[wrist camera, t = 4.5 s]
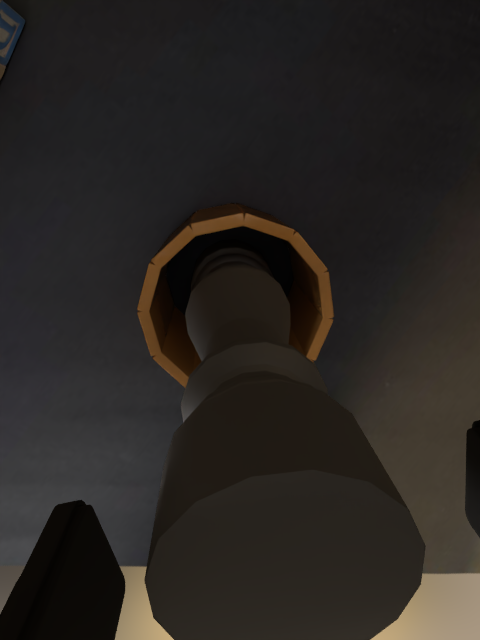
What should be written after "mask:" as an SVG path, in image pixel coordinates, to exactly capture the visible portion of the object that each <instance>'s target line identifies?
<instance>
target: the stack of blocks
mask: <svg viewBox="0 0 480 640" xmlns="http://www.w3.org/2000/svg"><path fill="white" fill-rule="evenodd" d="M24 24H25V20H24V18H22V17H21V16H20V15H19V14H18V13H17V12H15V11H14V10H13V9H12V8H11V7H10V6H9V5H7V4H6V3H5V2H4V1H3V0H0V80H1V78H2V76H3V74H4V71H5V68H6V64H7V63H8V61H9V59H10V57H11V54H12V52H13V50H14V48H15V45H16V42H17V40H18V38H19V36H20V33H21V31H22V29H23V27H24Z"/></svg>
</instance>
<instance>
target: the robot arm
mask: <svg viewBox="0 0 480 640" xmlns="http://www.w3.org/2000/svg"><path fill="white" fill-rule="evenodd" d="M465 511H466V516H467V518H468V521H469V523H470V525H471V526H472V528H473V529H474V530H475V532H476V533H477V535H478V536H479V537H480V420H478V421H475V422H474V423H473V424H472V428H471V429H468V430H467V444H466V496H465ZM124 594H125V579H124V576H123V573H122V571H121V569H120V567H119V565H118V562H117V560H116V558H115V556H114V553H113V551H112V549H111V547H110V545H109V542H108V540H107V538H106V536H105V534H104V531H103V529H102V527H101V525H100V523H99V520H98V518H97V516H96V514H95V512H94V509H93V507H92V506H91V505H86V504H85V502H84V501H82V500H78V501H73V502H68V503H63V504H58V505H57V506H55V508H54V509H53V511H52V513H51V515H50V517H49V519H48V521H47V523H46V525H45V527H44V529H43V531H42V533H41V535H40V537H39V540H38V542H37V544H36V546H35V548H34V550H33V552H32V554H31V556H30V558H29V560H28V562H27V564H26V566H25V568H24V570H23V572H22V574H21V576H20V577H19V579H18V581H17V582H16V584H15V586H14V588H13V590H12V592H11V594H10V596H9V598H8V600H7V602H6V604H5V606H4V608H3V610H2V612H1V614H0V640H115V634H116V631H117V626H118V622H119V617H120V613H121V608H122V604H123V599H124Z"/></svg>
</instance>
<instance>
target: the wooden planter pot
mask: <svg viewBox="0 0 480 640" xmlns="http://www.w3.org/2000/svg"><path fill="white" fill-rule="evenodd" d="M241 226H245V227H248V228H251V229H254V230H257V231H260V232H263V233H266V234H269V235H272V236H275V237H278V238H280V239H281V240H282V241H283V243H284V244H285V245H286V246H287V247H288V249H289V254H290V260H291V267H292V273H293V280H294V281H293V284H292V286H291V289H290V292H289V294H288V297H287V299H288V301H289V303H290V323H291V324H290V333H289V345H292V346H293V347H294V348H296V349H297V350H298V351H299V352H301V353H302V354H303V355H304V356H306V357H307V358H308V359H310V360H311V361H312V362H313V360H316V359H317V356H318V354H319V352H320V349H321V347H322V345H323V343H324V340H325V338H326V336H327V334H328V331H329V329H330V327H331V325H332V322H333V319H332V317H334V312H333V304H332V296H331V287H330V279H329V272H328V271H327V268H326V266H325V265H324V264H323V263H322V261H321V260H320V259H319V258H318V256H317V255H316V254H315V253H314V251H313V250H312V249H311V248H310V247H309V245H308V244H307V243H306V242H305V240H304V239H303V238H302V237H301V235H300V234H299V233H298V232H297V231H295V230H294V229H292V228H291V227H289V226H288V225H286V224H285V223H283V222H282V221H280V220H278V219H277V218H275V217H274V216H272V215H271V214H268V213H265V212H262V211H259V210H256V209H253V208H250V207H248V206H245V205H242V204H239V203H236V205H235V203H229V204H225V205H220V206H215V207H211V208H206V209H201V210H197V212H194V213H193V214H192V215H191V216H190V217H189V218H188V219H187V220H186V221H184V222H183V223H182V224H181V225H180V226H179V227H178V228H177V229H176V230H175V231H174V232H173V233H172V234H171V235H170V236H169V237H168V238H167V239H166V241H165V242H164V243H163V245H162V246H161V247H160V249H159V250H158V252H157V253H156V254H155V256H154V257H153V258H152V260H151V262H150V263H149V265H148V269H147V273H146V277H145V281H144V284H143V288H142V292H141V296H140V300H139V304H138V308H137V310H139V311H138V312H137V314H138V317H139V320H140V323H141V326H142V329H143V333H144V336H145V339H146V342H147V345H148V348H149V352H150V355H151V356H153V359H154V360H155V361H156V362H157V363H158V364H159V365H160V366H162V367H163V368H164V369H165V370H166V371H167V372H168V373H169V374H170V375H171V376H173V377H174V378H175V379H176V380H177V381H178V382H179V383H180V384H181V385H183V386H184V387H185V388H186V385H187V382H188V379H189V376H190V374H191V373H192V372H193V371H194V370H195V369H196V367H197V366H198V365H199V364H200V363H201V362H202V361H201V359H200V357H199V355H198V353H197V351H196V349H195V347H194V345H193V343H192V341H191V339H190V337H189V335H188V331H187V324H186V316H185V315H184V314H183V313H182V312H181V311H180V310H179V309H178V308H177V307H176V306H175V304H174V300H173V297H172V293H171V290H170V286H169V282H168V279H167V271H168V268H169V264H170V260H171V259H172V258H173V257H174V256H175V255H176V254H177V253H178V252H179V251H180V250H181V249H182V248H183V247H185V246H186V245H187V244H188V243H189V242H190V241H191V240H192V239H193V238H194V237H195V236H199V235H203V234H208V233H213V232H217V231H222V230H227V229H231V228H236V227H241ZM313 363H314V362H313Z"/></svg>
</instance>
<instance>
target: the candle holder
mask: <svg viewBox="0 0 480 640" xmlns="http://www.w3.org/2000/svg"><path fill="white" fill-rule="evenodd" d="M185 316H186V324H187V331H188V335H189V337H190V339H191V341H192V343H193V345H194V347H195V349H196V351H197V353H198V355H199V357H200V359H201V361H202V362H201V363H200V364H199V365H198V366H197V367H196V369H195V370H194V371H193V372H192V373H191V374H190V376H189V379H188V382H187V385H186V388H185V392H184V395H183V398H182V401H181V410H182V416H183V424H182V425H181V426H180V427H179V428H178V429H177V431H176V432H175V433H174V435H173V438H172V441H171V445H170V448H169V451H168V454H167V457H166V461H165V464H164V468H163V473H162V479H161V485H160V491H159V497H158V503H157V509H156V515H155V521H154V527H153V533H152V539H151V545H150V551H149V557H148V563H147V569H146V576H145V584H146V588H147V593H148V597H149V601H150V605H151V609H152V613H153V617H154V619H155V620H156V621H157V622H158V623H159V624H160V625H161V626H162V627H163V628H164V629H165V630H166V632H167V633H168V634H169V635H170V636H171V637H172V638H173V639H174V640H370V639H371V638H373V637H374V636H376V635H377V634H378V633H380V632H381V631H382V630H384V629H385V628H386V627H388V626H389V625H390V624H391V623H393V622H394V621H396V620H397V619H398V618H399V616H400V615H401V613H402V612H403V610H404V609H405V607H406V606H407V604H408V603H409V601H410V600H411V598H412V597H413V595H414V594H415V592H416V591H417V589H418V588H419V586H420V585H421V578H422V571H423V563H424V555H425V547H426V546H425V544H424V542H423V539H422V537H421V535H420V533H419V531H418V529H417V526H416V524H415V522H414V520H413V518H412V516H411V514H410V511H409V509H408V508H407V506H406V504H405V503H404V501H403V499H402V497H401V496H400V494H399V492H398V491H397V489H396V487H395V486H394V484H393V482H392V481H391V479H390V477H389V476H388V474H387V472H386V470H385V469H384V467H383V465H382V464H381V462H380V460H379V459H378V457H377V455H376V454H375V452H374V450H373V448H372V447H371V445H370V443H369V442H368V440H367V438H366V437H365V435H364V433H363V432H362V430H361V428H360V427H359V425H358V423H357V421H356V420H355V418H354V416H353V415H352V413H350V412H349V411H348V410H346V409H345V408H344V407H343V406H341V405H340V404H339V403H337V402H336V401H335V400H333V399H332V398H331V397H330V396H328V390H327V388H326V386H325V384H324V382H323V380H322V377H321V375H320V373H319V371H318V369H317V367H316V366H315V364H314V363H313V362H312V361H311V360H310V359H308V358H307V357H306V356H304V355H303V354H302V353H301V352H299V351H298V350H297V349H296V348H294V347H293V346H292V345H289V333H290V324H291V323H290V303H289V301H288V299H287V297H286V295H285V293H284V291H283V289H282V287H281V285H280V284H279V283H278V282H277V281H276V280H275V279H274V277H273V275H272V273H271V271H270V268H269V266H268V264H267V262H266V261H265V259H264V258H263V256H262V255H261V253H259V252H258V251H257V250H256V249H255V248H254V247H252V246H251V245H250V244H248V243H244V242H241V241H238V240H225V241H219V242H217V243H215V244H213V245H211V246H209V247H208V248H206V249H205V250H204V252H203V253H202V254H201V255H200V257H199V258H198V259H197V261H196V264H195V268H194V271H193V275H192V280H191V295H190V298H189V302H188V305H187V309H186V313H185Z"/></svg>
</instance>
